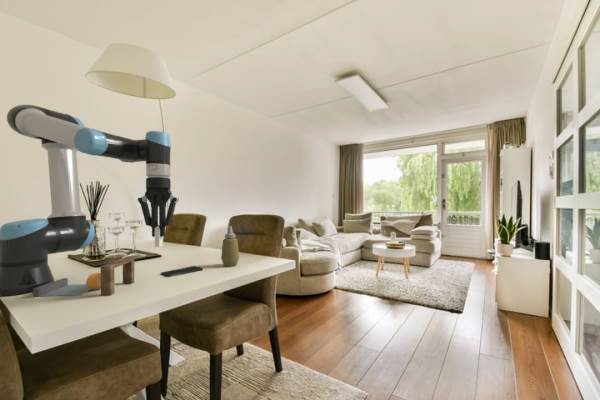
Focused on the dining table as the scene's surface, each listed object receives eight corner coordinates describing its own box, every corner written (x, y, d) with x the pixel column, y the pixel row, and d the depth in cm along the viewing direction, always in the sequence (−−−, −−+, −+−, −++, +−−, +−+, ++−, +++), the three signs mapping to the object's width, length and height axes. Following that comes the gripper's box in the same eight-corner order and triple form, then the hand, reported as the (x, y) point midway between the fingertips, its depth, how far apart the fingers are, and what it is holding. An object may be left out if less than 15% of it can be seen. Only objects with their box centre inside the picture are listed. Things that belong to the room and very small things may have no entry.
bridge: (100, 295, 86) (100, 265, 86) (125, 282, 101) (125, 257, 101) (110, 295, 86) (110, 265, 87) (134, 282, 101) (134, 256, 101)
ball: (99, 292, 90) (81, 291, 90) (109, 286, 96) (92, 286, 95) (100, 275, 90) (82, 274, 90) (110, 270, 96) (93, 270, 95)
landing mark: (40, 296, 86) (40, 295, 86) (68, 285, 98) (68, 284, 98) (81, 295, 87) (81, 294, 87) (104, 284, 99) (104, 283, 99)
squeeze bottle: (237, 267, 123) (236, 226, 123) (218, 267, 123) (218, 226, 123) (241, 263, 131) (240, 225, 131) (224, 263, 131) (223, 225, 132)
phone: (204, 268, 119) (168, 275, 107) (204, 271, 119) (168, 278, 107) (194, 265, 124) (159, 272, 113) (194, 268, 124) (159, 275, 113)
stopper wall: (33, 296, 86) (33, 288, 86) (62, 285, 98) (62, 278, 98) (38, 296, 86) (38, 288, 86) (67, 285, 98) (67, 278, 98)
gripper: (132, 176, 91) (133, 248, 91) (174, 176, 92) (174, 247, 92) (143, 178, 98) (144, 245, 98) (181, 178, 99) (182, 244, 99)
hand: (158, 246), depth 95 cm, fingers closed
